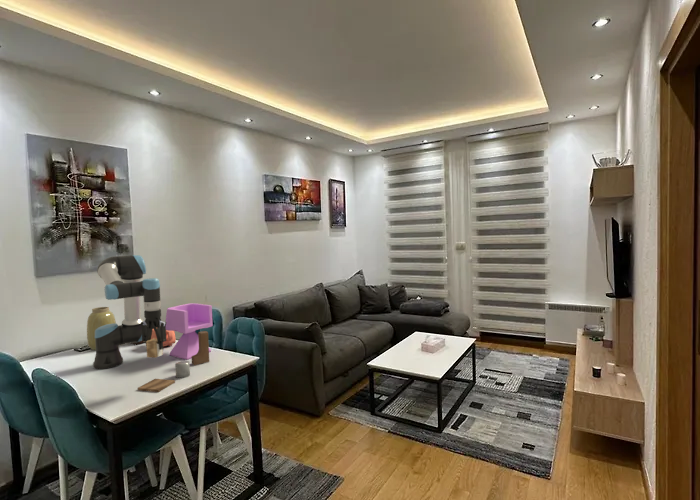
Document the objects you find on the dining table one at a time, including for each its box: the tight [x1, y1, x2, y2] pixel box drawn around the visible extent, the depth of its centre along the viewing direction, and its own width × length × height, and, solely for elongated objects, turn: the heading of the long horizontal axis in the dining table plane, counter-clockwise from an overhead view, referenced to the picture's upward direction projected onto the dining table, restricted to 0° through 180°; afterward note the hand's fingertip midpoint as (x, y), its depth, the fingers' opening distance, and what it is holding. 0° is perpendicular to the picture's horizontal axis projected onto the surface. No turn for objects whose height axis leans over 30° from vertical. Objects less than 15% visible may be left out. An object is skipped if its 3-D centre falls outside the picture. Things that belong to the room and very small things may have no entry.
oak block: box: [145, 339, 164, 359], centre depth 197 cm, size 5×5×8 cm
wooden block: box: [191, 330, 210, 366], centre depth 232 cm, size 9×4×18 cm, turn 130°
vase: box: [86, 306, 117, 351], centre depth 267 cm, size 17×17×27 cm
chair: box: [165, 302, 214, 361], centre depth 249 cm, size 20×20×30 cm
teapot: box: [151, 329, 177, 347], centre depth 268 cm, size 22×13×14 cm, turn 56°
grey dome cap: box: [174, 360, 191, 379], centre depth 212 cm, size 7×7×7 cm
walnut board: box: [137, 378, 176, 393], centre depth 199 cm, size 12×12×1 cm
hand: (155, 355), depth 198 cm, fingers closed on oak block, 5 cm apart
